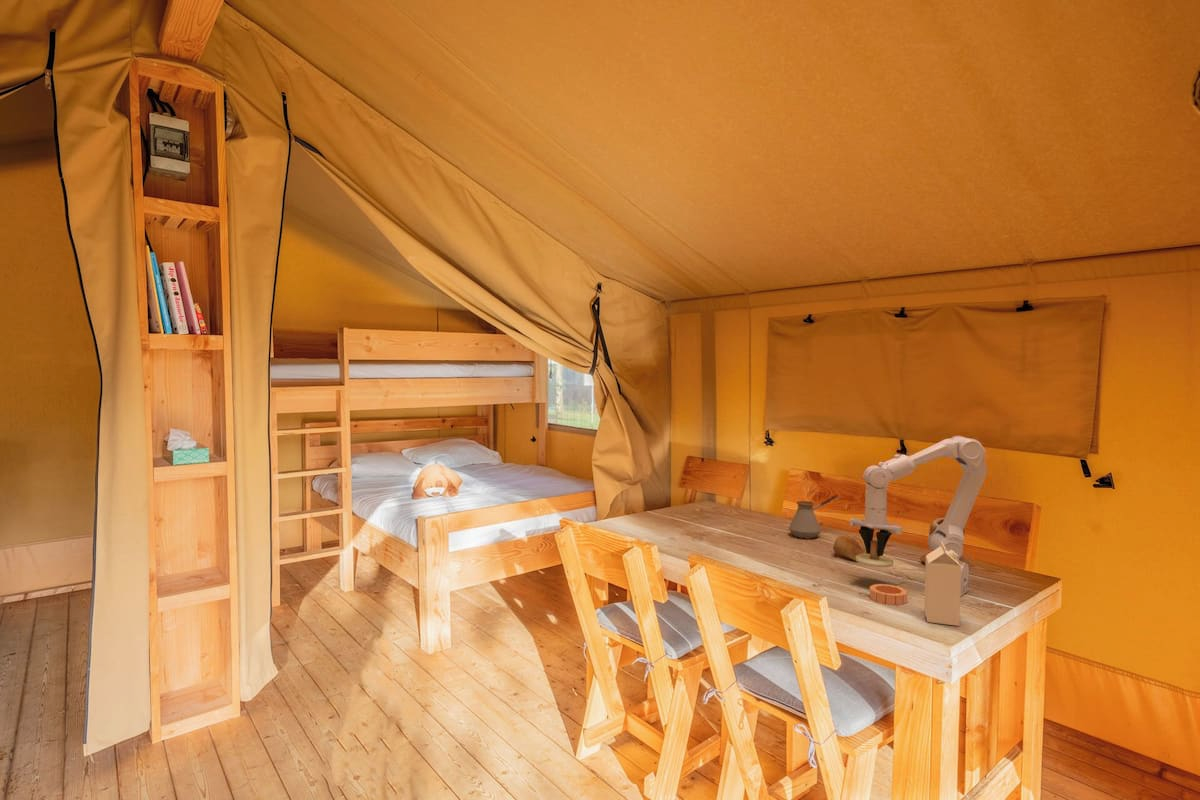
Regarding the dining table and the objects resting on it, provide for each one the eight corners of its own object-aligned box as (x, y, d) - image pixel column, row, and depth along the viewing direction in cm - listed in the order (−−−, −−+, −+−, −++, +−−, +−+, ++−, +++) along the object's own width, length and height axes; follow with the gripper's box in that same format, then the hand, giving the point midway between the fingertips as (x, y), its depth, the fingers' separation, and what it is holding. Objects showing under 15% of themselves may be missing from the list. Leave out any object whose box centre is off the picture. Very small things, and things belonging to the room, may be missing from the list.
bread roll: (858, 567, 209) (858, 542, 209) (824, 554, 223) (825, 531, 223) (880, 563, 213) (881, 539, 213) (846, 551, 227) (847, 529, 227)
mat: (898, 586, 191) (898, 584, 191) (883, 594, 184) (883, 592, 184) (864, 578, 198) (864, 576, 198) (849, 585, 191) (849, 584, 191)
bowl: (912, 600, 179) (912, 589, 178) (898, 609, 172) (898, 597, 172) (878, 592, 185) (878, 581, 185) (863, 600, 179) (864, 589, 179)
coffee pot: (801, 541, 240) (802, 500, 240) (782, 534, 251) (783, 495, 250) (848, 536, 248) (849, 497, 247) (828, 529, 258) (829, 491, 258)
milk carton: (927, 622, 163) (929, 547, 162) (924, 612, 170) (926, 540, 169) (959, 626, 161) (961, 550, 160) (955, 616, 167) (957, 542, 166)
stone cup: (944, 572, 204) (945, 524, 203) (914, 562, 215) (915, 516, 214) (980, 568, 209) (982, 521, 208) (949, 557, 220) (950, 513, 219)
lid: (899, 562, 190) (900, 542, 189) (883, 569, 183) (884, 548, 183) (865, 554, 197) (866, 535, 197) (849, 560, 190) (850, 540, 190)
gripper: (845, 505, 192) (844, 551, 193) (895, 513, 181) (894, 562, 182) (856, 502, 197) (855, 547, 197) (905, 510, 186) (904, 557, 187)
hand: (874, 554), depth 190 cm, fingers closed on lid, 3 cm apart
